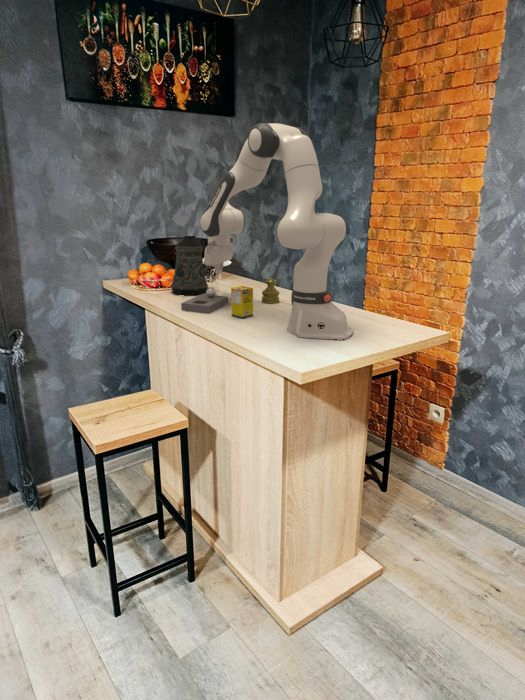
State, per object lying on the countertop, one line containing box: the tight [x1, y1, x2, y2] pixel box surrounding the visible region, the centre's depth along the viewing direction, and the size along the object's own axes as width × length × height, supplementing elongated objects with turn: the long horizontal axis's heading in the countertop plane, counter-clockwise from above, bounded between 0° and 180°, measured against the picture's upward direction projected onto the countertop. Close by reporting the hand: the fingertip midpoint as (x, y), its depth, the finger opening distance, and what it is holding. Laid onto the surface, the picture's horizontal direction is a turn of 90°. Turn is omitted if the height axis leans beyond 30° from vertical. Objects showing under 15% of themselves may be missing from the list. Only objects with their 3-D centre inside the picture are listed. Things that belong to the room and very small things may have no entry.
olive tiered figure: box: [261, 277, 280, 305], centre depth 207 cm, size 7×8×10 cm
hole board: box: [180, 294, 229, 314], centre depth 198 cm, size 12×18×3 cm, turn 159°
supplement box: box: [230, 285, 254, 320], centre depth 184 cm, size 6×6×11 cm
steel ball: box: [206, 287, 217, 297], centre depth 201 cm, size 4×4×4 cm
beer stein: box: [170, 235, 210, 297], centre depth 221 cm, size 16×19×25 cm
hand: (218, 273), depth 207 cm, fingers closed
